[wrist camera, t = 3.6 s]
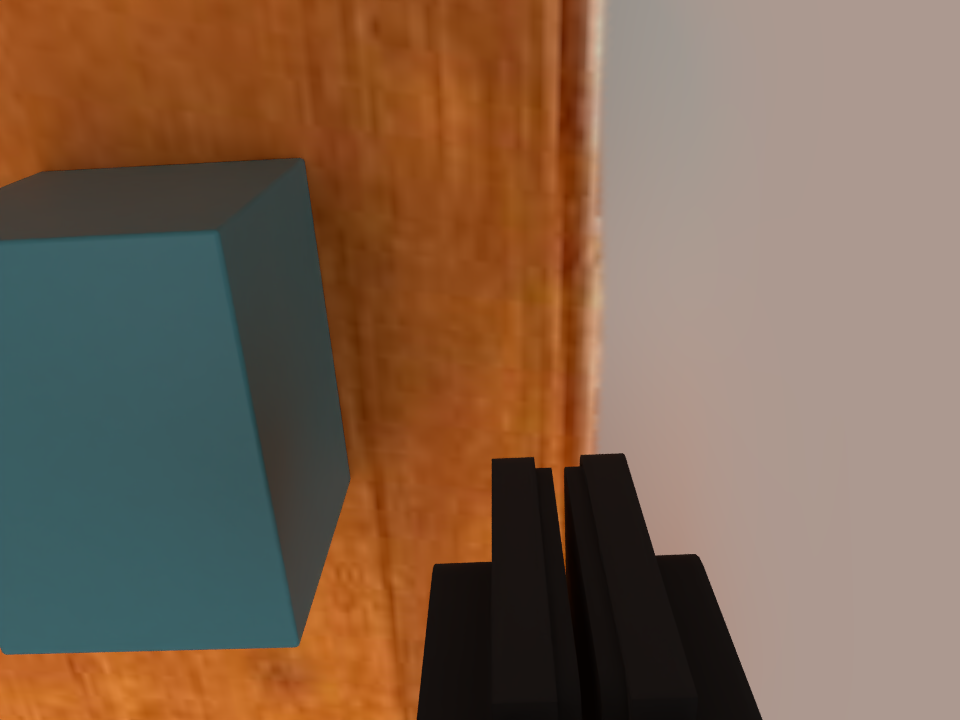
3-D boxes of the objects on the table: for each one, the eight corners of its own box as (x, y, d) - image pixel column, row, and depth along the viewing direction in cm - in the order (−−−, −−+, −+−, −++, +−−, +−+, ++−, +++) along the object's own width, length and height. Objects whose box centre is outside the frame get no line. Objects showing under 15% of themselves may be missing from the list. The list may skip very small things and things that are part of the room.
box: (304, 156, 15) (218, 230, 10) (351, 480, 18) (299, 648, 13) (39, 170, 15) (-161, 248, 11) (128, 488, 18) (1, 656, 13)
